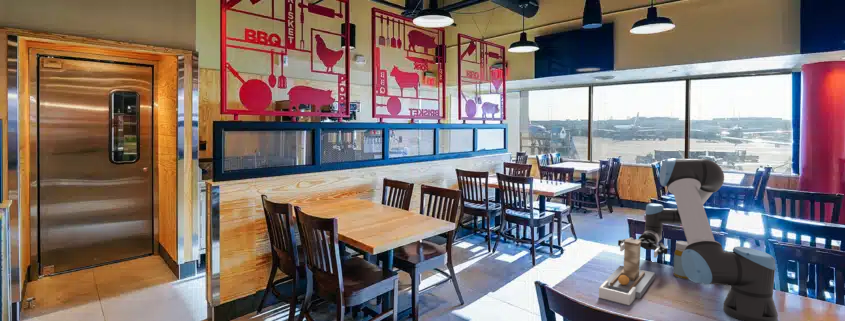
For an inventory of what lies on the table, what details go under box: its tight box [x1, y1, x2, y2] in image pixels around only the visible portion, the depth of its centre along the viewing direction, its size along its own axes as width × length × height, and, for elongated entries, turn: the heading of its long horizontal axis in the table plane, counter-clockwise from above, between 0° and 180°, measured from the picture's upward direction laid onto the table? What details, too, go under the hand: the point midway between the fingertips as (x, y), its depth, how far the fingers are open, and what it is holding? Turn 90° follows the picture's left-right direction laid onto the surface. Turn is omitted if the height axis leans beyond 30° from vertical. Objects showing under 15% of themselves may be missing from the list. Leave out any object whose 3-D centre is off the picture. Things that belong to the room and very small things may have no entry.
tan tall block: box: [622, 237, 641, 281], centre depth 175 cm, size 5×8×15 cm, turn 140°
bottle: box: [672, 240, 690, 280], centre depth 182 cm, size 7×7×15 cm
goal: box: [598, 280, 637, 307], centre depth 162 cm, size 11×9×4 cm
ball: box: [618, 275, 629, 285], centre depth 168 cm, size 4×4×4 cm
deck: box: [601, 265, 656, 300], centre depth 175 cm, size 14×26×2 cm, turn 140°
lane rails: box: [610, 268, 645, 290], centre depth 173 cm, size 8×21×1 cm, turn 140°
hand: (637, 251), depth 184 cm, fingers open, 13 cm apart
